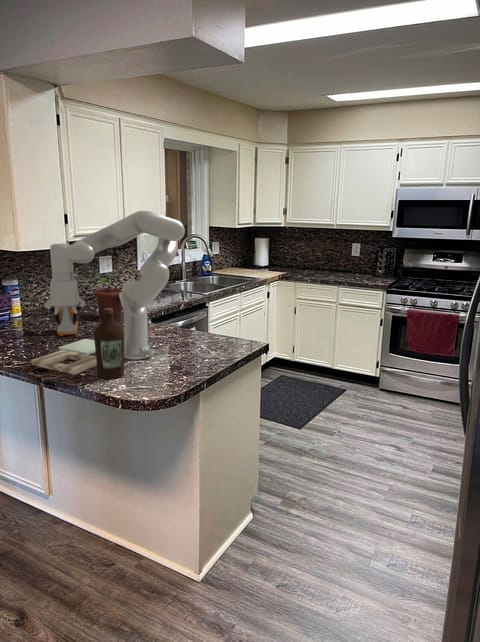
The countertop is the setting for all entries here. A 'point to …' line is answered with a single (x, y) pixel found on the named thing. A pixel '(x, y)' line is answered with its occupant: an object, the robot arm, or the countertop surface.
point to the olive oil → (109, 347)
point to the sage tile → (80, 346)
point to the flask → (66, 321)
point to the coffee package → (72, 318)
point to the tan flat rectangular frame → (73, 368)
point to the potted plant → (109, 300)
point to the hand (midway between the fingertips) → (66, 323)
